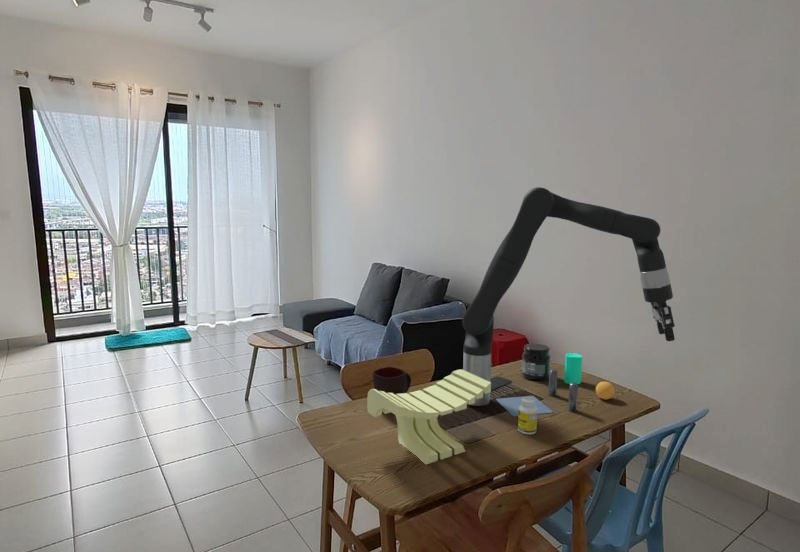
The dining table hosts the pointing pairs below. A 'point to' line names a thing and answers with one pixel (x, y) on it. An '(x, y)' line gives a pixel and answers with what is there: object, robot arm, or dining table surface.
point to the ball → (605, 390)
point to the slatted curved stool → (429, 413)
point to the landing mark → (515, 402)
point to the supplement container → (536, 362)
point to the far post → (552, 382)
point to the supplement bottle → (527, 416)
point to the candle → (573, 368)
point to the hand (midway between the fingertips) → (666, 337)
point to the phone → (498, 382)
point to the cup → (391, 380)
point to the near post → (573, 397)
